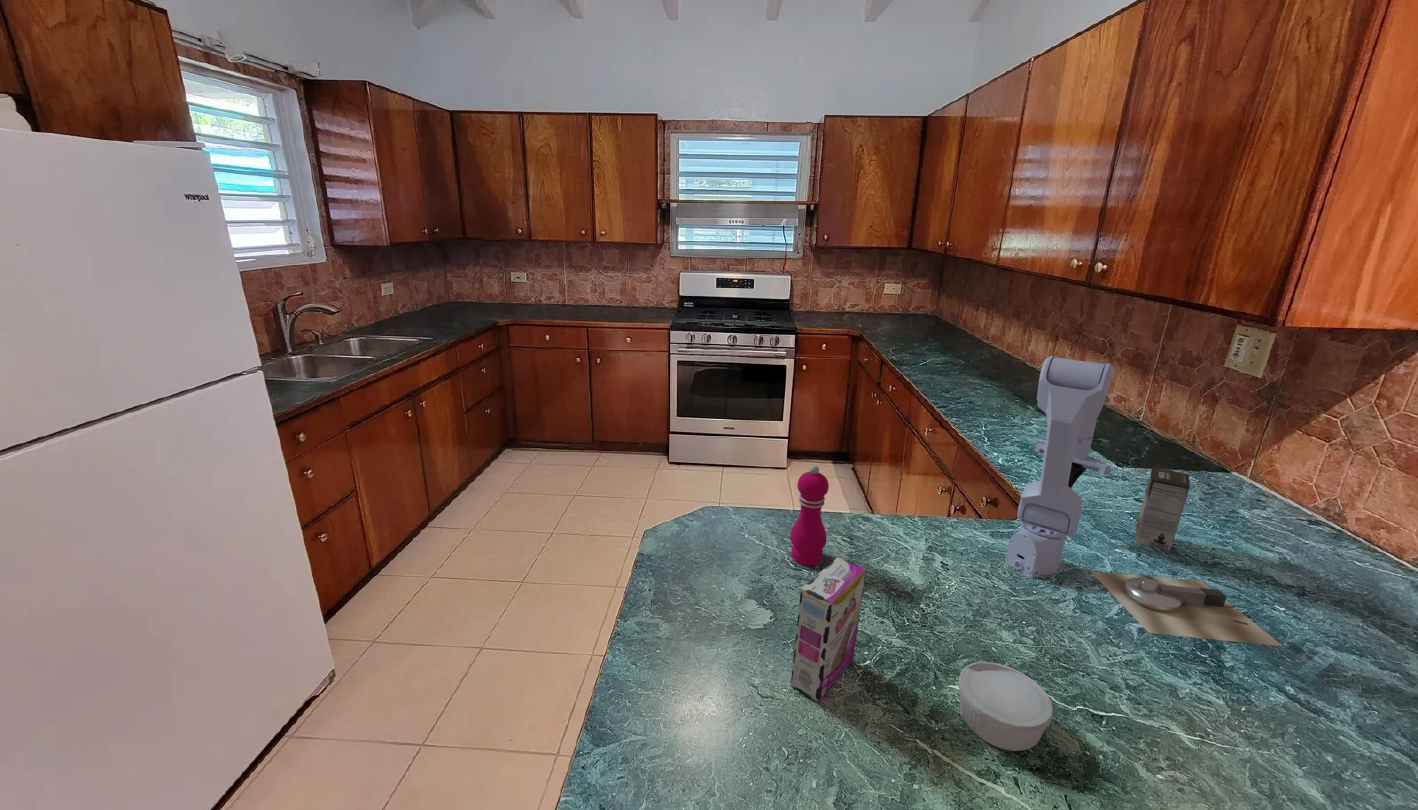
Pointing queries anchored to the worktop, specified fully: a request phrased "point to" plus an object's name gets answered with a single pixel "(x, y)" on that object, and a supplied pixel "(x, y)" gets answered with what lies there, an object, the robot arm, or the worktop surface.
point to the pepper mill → (810, 519)
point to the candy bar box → (827, 627)
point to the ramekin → (1003, 705)
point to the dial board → (1188, 614)
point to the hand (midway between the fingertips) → (1062, 493)
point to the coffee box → (1162, 508)
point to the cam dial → (1169, 594)
